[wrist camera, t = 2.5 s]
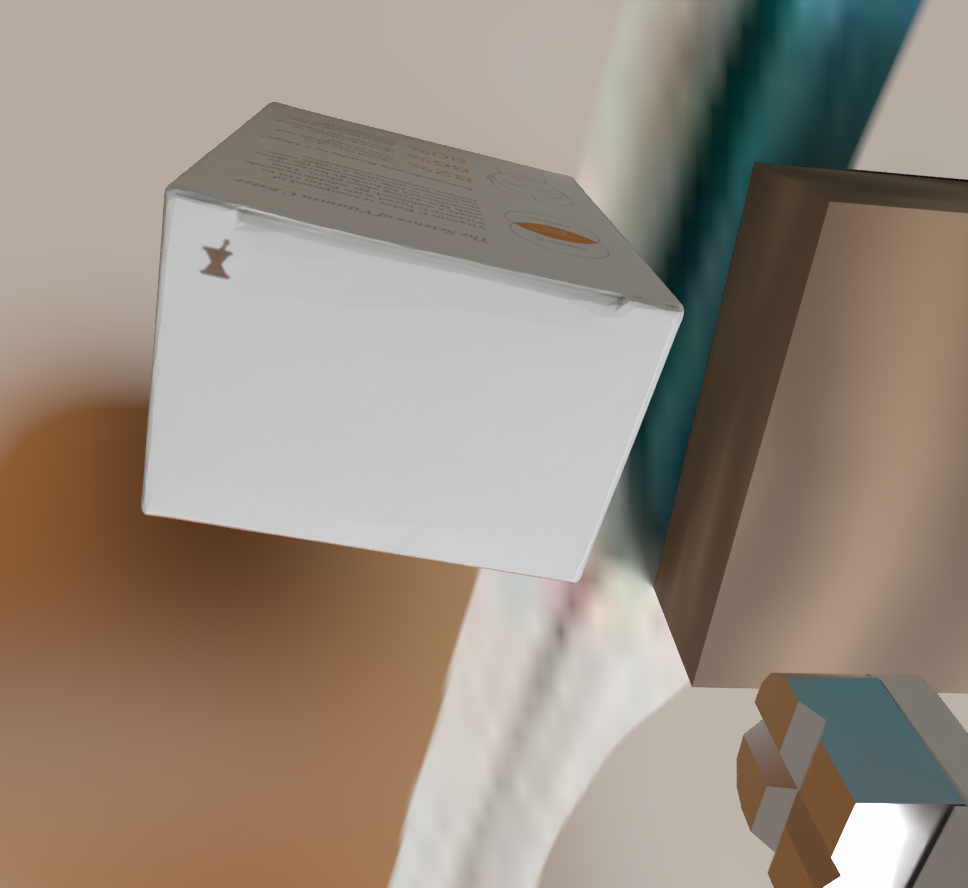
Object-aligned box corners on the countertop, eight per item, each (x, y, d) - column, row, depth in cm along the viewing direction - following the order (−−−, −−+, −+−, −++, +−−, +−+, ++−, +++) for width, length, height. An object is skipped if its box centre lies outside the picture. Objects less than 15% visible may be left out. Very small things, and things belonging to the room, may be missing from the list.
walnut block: (1223, 203, 24) (1404, 251, 20) (1028, 595, 30) (1129, 697, 26) (749, 159, 22) (829, 201, 18) (651, 581, 29) (692, 687, 25)
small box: (241, 306, 23) (122, 520, 14) (270, 93, 21) (147, 180, 11) (522, 367, 25) (583, 598, 15) (580, 175, 22) (695, 310, 13)
